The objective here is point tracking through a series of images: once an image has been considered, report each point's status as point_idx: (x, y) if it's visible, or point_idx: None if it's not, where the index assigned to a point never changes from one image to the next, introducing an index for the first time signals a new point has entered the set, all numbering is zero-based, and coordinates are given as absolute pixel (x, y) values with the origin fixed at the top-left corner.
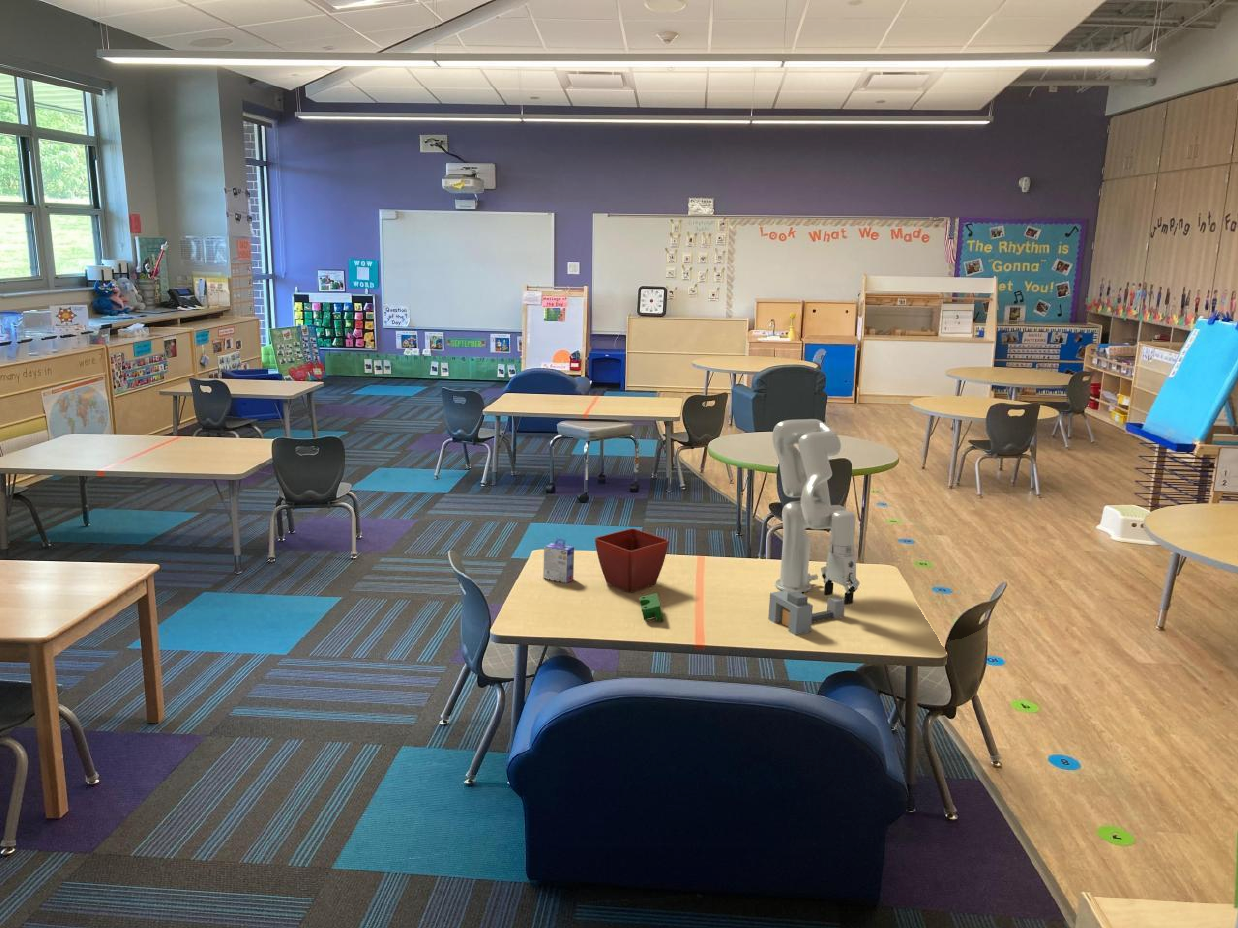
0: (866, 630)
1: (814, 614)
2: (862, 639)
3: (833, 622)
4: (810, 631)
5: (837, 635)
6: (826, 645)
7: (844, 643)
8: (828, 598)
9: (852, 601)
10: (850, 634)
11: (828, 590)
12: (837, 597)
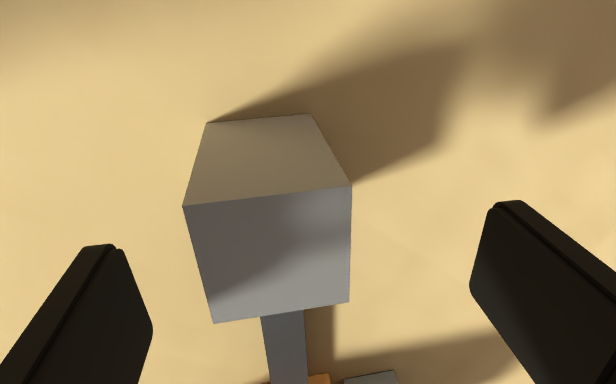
0: (565, 105)
1: (283, 343)
2: (607, 207)
3: (355, 232)
4: (395, 373)
5: None
6: None
7: None
8: (227, 319)
9: (530, 216)
10: None
11: (122, 357)
12: (237, 229)
